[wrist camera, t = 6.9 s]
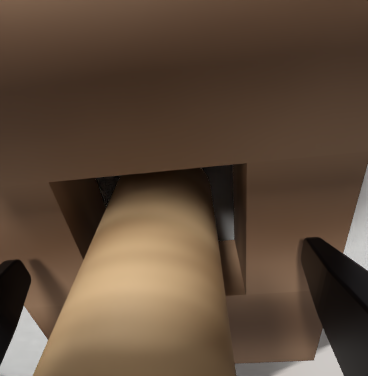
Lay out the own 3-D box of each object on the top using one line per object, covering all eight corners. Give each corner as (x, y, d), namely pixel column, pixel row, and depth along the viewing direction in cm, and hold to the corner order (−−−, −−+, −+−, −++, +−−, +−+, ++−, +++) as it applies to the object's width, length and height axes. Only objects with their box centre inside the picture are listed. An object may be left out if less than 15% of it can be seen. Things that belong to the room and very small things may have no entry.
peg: (214, 226, 12) (245, 479, 6) (129, 233, 13) (60, 480, 6) (208, 146, 10) (246, 394, 3) (106, 157, 11) (-42, 404, 4)
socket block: (292, 303, 15) (313, 360, 13) (88, 315, 16) (69, 370, 14) (354, -86, 7) (453, -150, 4) (-82, -17, 8) (-215, -34, 5)
